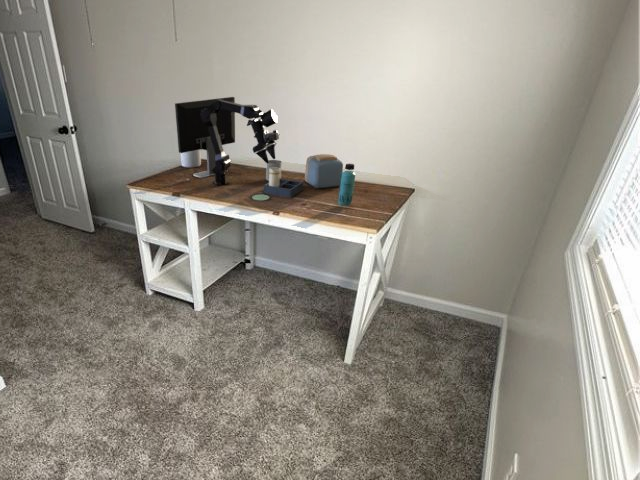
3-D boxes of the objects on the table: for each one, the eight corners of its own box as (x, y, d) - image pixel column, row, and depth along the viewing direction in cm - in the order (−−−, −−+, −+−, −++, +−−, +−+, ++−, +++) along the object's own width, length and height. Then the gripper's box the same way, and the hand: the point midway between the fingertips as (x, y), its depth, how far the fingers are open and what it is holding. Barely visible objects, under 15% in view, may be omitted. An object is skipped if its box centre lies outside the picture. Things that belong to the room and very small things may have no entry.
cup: (279, 182, 235) (280, 163, 230) (265, 181, 237) (265, 163, 231) (281, 177, 242) (282, 160, 237) (267, 177, 244) (267, 159, 238)
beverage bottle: (335, 204, 203) (340, 162, 193) (349, 203, 204) (354, 162, 193) (339, 208, 198) (344, 166, 187) (353, 208, 198) (359, 165, 188)
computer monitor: (231, 165, 266) (230, 96, 245) (240, 168, 261) (239, 97, 239) (178, 178, 243) (172, 103, 221) (187, 181, 237) (181, 104, 216)
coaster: (248, 196, 214) (248, 196, 213) (263, 194, 217) (263, 193, 217) (257, 202, 207) (257, 201, 207) (272, 199, 210) (272, 198, 210)
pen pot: (266, 191, 220) (267, 168, 214) (275, 189, 222) (276, 166, 216) (272, 194, 216) (272, 170, 209) (281, 192, 218) (282, 169, 212)
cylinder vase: (202, 163, 272) (200, 122, 259) (199, 168, 261) (196, 125, 248) (183, 162, 273) (180, 121, 260) (179, 167, 262) (176, 125, 249)
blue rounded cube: (328, 178, 240) (331, 150, 231) (343, 187, 227) (346, 156, 218) (302, 181, 236) (305, 152, 227) (315, 190, 223) (318, 159, 214)
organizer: (263, 193, 218) (263, 185, 216) (276, 185, 229) (276, 177, 227) (290, 198, 211) (290, 189, 209) (302, 190, 223) (303, 181, 220)
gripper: (266, 127, 198) (278, 159, 203) (280, 121, 212) (291, 151, 217) (246, 136, 204) (259, 167, 209) (261, 130, 218) (272, 159, 223)
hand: (271, 161), depth 215 cm, fingers open, 9 cm apart
